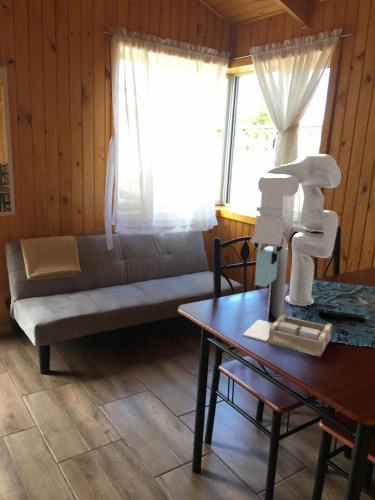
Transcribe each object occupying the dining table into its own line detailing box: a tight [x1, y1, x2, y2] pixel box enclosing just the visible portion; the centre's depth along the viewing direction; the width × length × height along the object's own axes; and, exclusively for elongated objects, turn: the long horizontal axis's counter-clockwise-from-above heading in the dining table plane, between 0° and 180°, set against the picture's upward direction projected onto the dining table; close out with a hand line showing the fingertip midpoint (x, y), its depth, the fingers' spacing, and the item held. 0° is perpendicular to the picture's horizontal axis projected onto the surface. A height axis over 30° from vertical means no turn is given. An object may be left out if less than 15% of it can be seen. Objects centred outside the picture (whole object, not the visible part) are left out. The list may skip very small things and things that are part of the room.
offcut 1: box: [278, 322, 298, 336], centre depth 147 cm, size 4×6×6 cm, turn 60°
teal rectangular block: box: [254, 245, 279, 288], centre depth 150 cm, size 4×12×12 cm, turn 150°
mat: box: [242, 319, 274, 343], centre depth 156 cm, size 16×9×1 cm, turn 150°
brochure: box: [266, 244, 289, 322], centre depth 166 cm, size 14×6×30 cm, turn 168°
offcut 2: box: [299, 326, 320, 340], centre depth 143 cm, size 4×6×6 cm, turn 60°
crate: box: [267, 312, 333, 358], centre depth 148 cm, size 16×18×6 cm
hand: (267, 261), depth 150 cm, fingers closed on teal rectangular block, 4 cm apart
